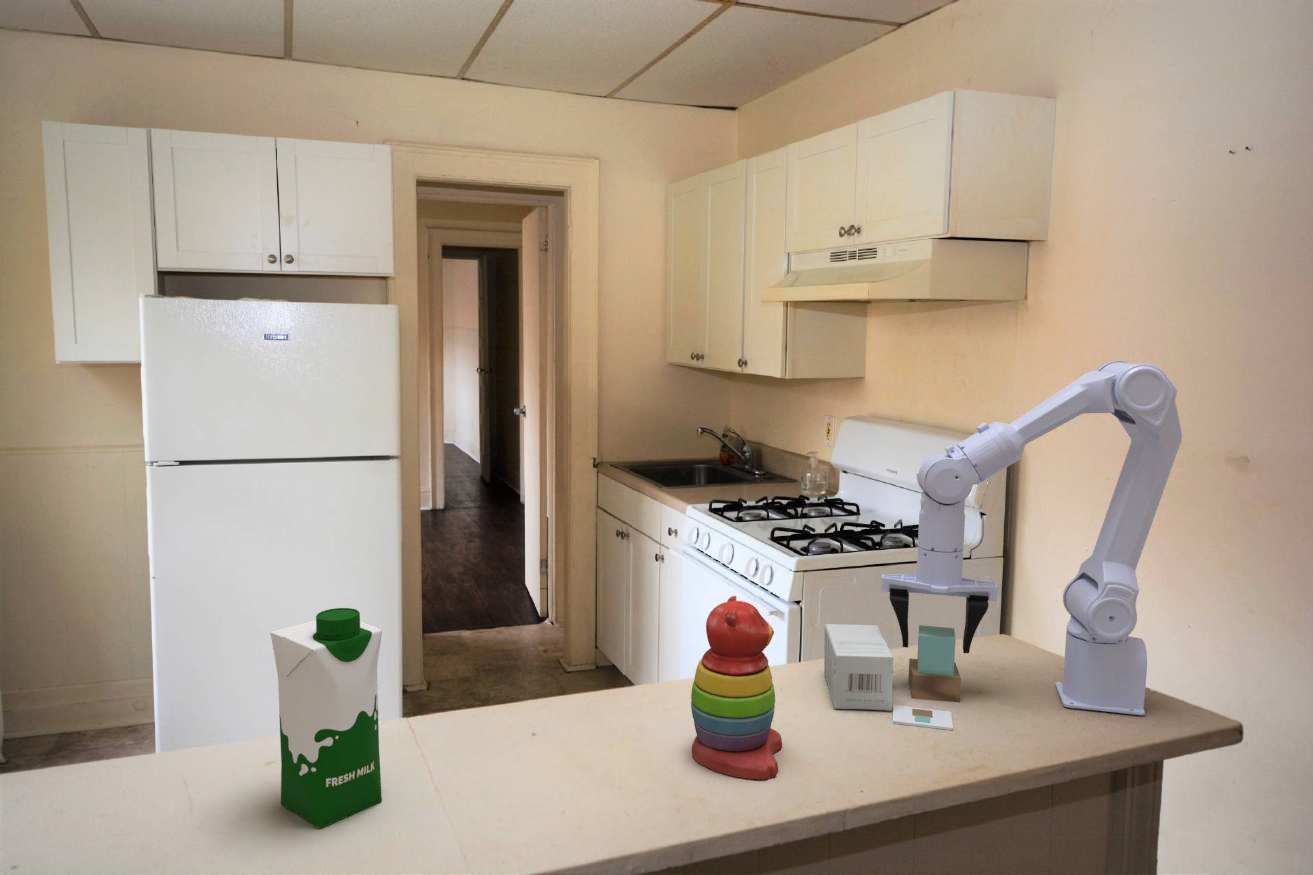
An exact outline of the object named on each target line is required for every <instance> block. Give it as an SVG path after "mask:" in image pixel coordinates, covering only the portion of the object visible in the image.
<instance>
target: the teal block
mask: <svg viewBox="0 0 1313 875" xmlns="http://www.w3.org/2000/svg"><path fill="white" fill-rule="evenodd" d="M917 641H918V642H917V658H916V659H917V669H918V673H927V674H936V675H946V676H954V662H955V658H956V656H955V654H956V633H955V628H954V627H943V626H934V625H923V624H919V626H918V640H917Z"/></svg>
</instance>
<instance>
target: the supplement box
mask: <svg viewBox="0 0 1313 875" xmlns="http://www.w3.org/2000/svg"><path fill="white" fill-rule="evenodd" d="M823 626H824V627H823V628H824V631H823V632H824V637H823V640H824V641H823V642H824V648H823V649H824V651H823V653H824V659H823V660H824V664H823V665H824V667H823V668H824V670H823V674H824V676H825V680H826V683H827V686H828V689H829V693H830V697H831V701H832V704H833V708H834V709H835V710H872V711H873V710H875V711H889V712H890V711H892V710H893V709H892V707H893V678H894V676H893V673H894V655H893V654H892V652H891V649H890V647H889V645H888V644H887V641H886V640H885V637H884V636H883V634H882V632H881V630H880V628H879V626H878V625H876V624H874V625H873V624H872V625H871V624H840V623H833V624H832V623H825V624H824V625H823Z"/></svg>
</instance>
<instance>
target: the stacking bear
mask: <svg viewBox="0 0 1313 875" xmlns="http://www.w3.org/2000/svg"><path fill="white" fill-rule="evenodd" d="M705 631H706V638H707V641H708V645H709V647H710V648H708V650H706V651H705V652H704V654H703V655H702V658H701V659H700V660H699V662H698V663H697V665H696V669H695V674H694V680H693V681H692V682H693V683H692V685H691V696H690V699H691V700H690V708H691V716H692V719H693V724H694V729H695V732H696V733H695V734H696V735H695V737H694V740H693V742H692V747H691V754H692V757H693V758H694V759H695V761H696V762H698V763H699V765H702V766H704V767H706V768H707V769H709V768H710V770H712V771H715V772H717V773H721V774H725V775H728V776H730V777H731V776H732V777H736V778H743V779H747V780H749V779H751V780H768V779H771V778H774V777H775V776H776V775H777V773H778V771H779V764H778V761H777V759H776V758H775V756H774V755H773V754H775V753H776V752H778V751H779V750H781V749H782V747H783V741H782V736H781V733H779V731H777V730H776V729H774V728H771V727H772V723H773V721H774V716H775V708H776V707H775V706H776V705H775V704H776V694H775V693H776V692H775V686H774V683H773V677H772V671H771V667H770V665H769V659H768V657H767V656H766V655H765V653H764V650H765V649H766V648H767V647H768V646H769V645H770V643H771V641H772V639H773V636H774V634H775V633H774V632H775V631H774V629H773V626H772V625H771V624H769V622H768V621H767V620H766V619H765V618H763V616H762V614H761V613H760V612H759V610H758V609H757V608H756V607H755V605H753V604H751V603H749V602H747V601H743V600H742V601H741V600H737V596H736V595H733V596H732V595H731V596H730V597H729V598H728V599H727V601H724V602H721V603H720V604H718V605H716V606H715V607H714V608H713V609H712V610H711V611H710V613H709V614H708V616H707V618H706V622H705Z"/></svg>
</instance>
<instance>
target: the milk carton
mask: <svg viewBox="0 0 1313 875" xmlns="http://www.w3.org/2000/svg"><path fill="white" fill-rule="evenodd" d="M269 633H270V638H271V644H272V649H273V656H274V662H275V667H276V673H277V684H278V686H277V687H278V705H279V706H278V711H279V715H278V716H279V734H280V735H279V736H280V737H279V738H280V760H281V762H280V763H281V764H280V765H281V767H280V768H281V770H280V772H281V773H280V776H281V777H280V779H281V780H280V805H281V806H283V807H284V808H286V809H287V810H289V811H291V812H292V813H294V814H296V815H297V816H298V817H300V818H302V819H303V820H305V821H307V822H308V823H310V824H311V825H313V826H314V827H316V828H317V829H322V828H324V827H327V826H330V825H331V824H334V823H336V822H339V821H340V820H343V819H345V818H347V817H349V816H352V815H354V814H356V813H359V812H360V811H363V810H365V809H367V808H370V807H372V806H374V805H377V804H379V803H381V802H383V798H382V778H381V760H380V759H381V758H380V757H381V756H380V739H379V738H380V735H379V732H380V731H379V693H378V686H379V684H378V662H379V656H380V648H381V647H380V646H381V642H382V636H383V629H381V628H378V627H376V626H374V625H371V624H368V623H365V622H362V621H361V613H360V611H359V610H357V609H356V608H349V607H338V608H337V607H336V608H330V609H326V610H321V611H320V612H318V613H317V614H316V616H315V619H314V620H312V621H311V620H310V621H307V622H304V623H299V624H295V625H291V626H287V627H284V628H279V629H276V630H272V631H270V632H269Z"/></svg>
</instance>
